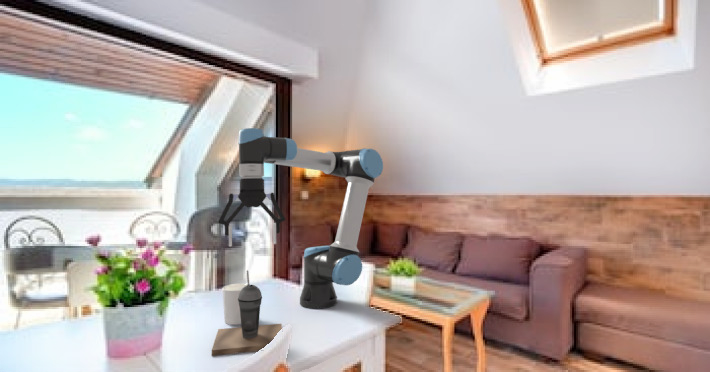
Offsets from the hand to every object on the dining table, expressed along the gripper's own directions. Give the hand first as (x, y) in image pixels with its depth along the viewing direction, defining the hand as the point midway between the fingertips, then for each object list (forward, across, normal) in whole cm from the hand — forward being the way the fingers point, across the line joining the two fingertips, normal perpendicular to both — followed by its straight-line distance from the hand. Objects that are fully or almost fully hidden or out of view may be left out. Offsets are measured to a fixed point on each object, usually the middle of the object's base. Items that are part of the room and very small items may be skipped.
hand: (253, 244), depth 117 cm
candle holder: (+29, -6, +16) cm, 34 cm away
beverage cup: (+28, -1, -3) cm, 28 cm away
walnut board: (+29, -2, -3) cm, 29 cm away
